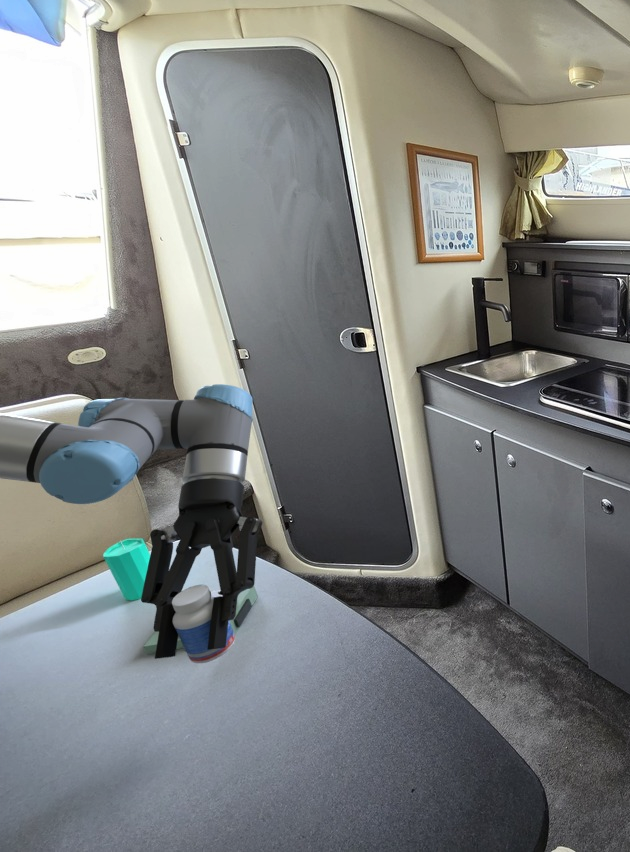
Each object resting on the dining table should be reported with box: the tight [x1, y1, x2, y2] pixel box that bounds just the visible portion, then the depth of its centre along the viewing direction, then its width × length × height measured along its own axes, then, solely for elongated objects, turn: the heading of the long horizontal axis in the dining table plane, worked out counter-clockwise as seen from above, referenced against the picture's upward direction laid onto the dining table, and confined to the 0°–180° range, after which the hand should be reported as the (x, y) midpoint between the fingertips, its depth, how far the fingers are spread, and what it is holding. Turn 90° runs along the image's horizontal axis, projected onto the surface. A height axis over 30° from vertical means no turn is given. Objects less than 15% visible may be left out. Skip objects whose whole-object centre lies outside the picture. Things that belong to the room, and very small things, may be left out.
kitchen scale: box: [143, 585, 259, 655], centre depth 89 cm, size 12×12×4 cm
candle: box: [102, 538, 151, 601], centre depth 97 cm, size 6×6×12 cm
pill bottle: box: [172, 584, 236, 664], centre depth 68 cm, size 6×5×10 cm
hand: (191, 652), depth 66 cm, fingers closed on pill bottle, 5 cm apart
